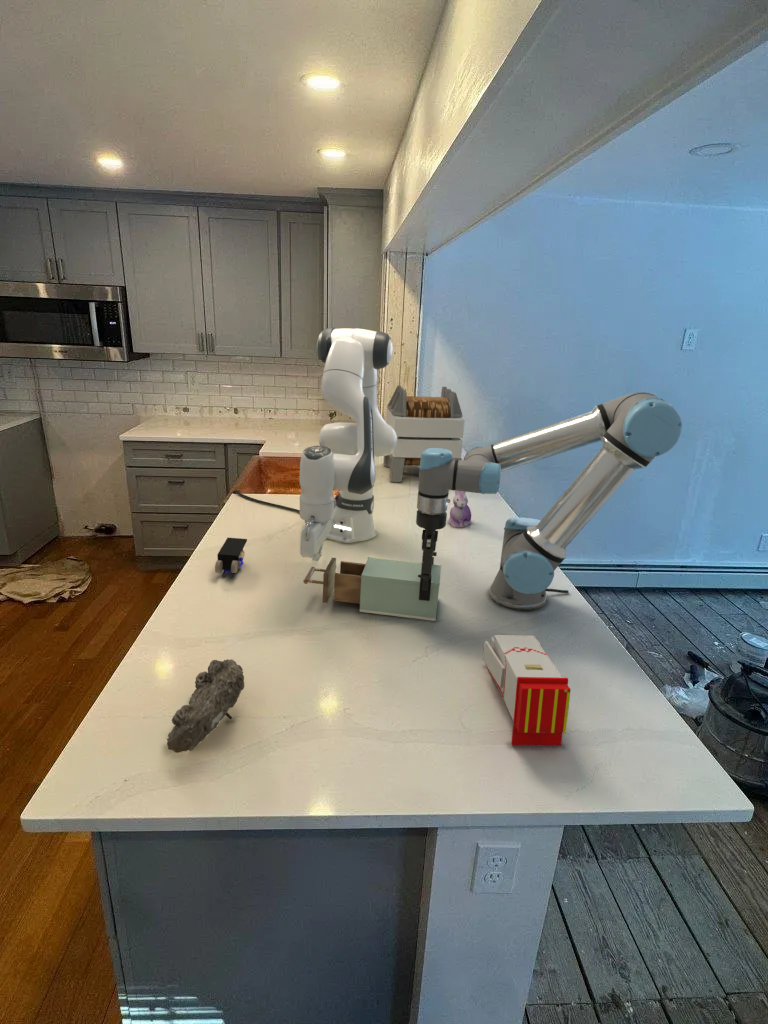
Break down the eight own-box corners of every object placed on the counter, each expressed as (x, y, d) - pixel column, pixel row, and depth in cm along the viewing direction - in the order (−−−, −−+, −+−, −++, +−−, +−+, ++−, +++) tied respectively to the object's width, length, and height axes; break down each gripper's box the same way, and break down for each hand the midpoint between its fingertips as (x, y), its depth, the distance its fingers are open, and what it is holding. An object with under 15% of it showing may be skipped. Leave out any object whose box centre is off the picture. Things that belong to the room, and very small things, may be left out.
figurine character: (238, 584, 162) (249, 557, 175) (236, 562, 158) (247, 536, 172) (215, 584, 161) (227, 556, 175) (212, 561, 158) (225, 535, 171)
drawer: (302, 600, 149) (302, 570, 146) (311, 583, 158) (312, 555, 155) (392, 611, 146) (394, 581, 144) (396, 593, 156) (398, 564, 153)
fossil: (192, 660, 117) (244, 628, 112) (224, 691, 120) (276, 661, 115) (142, 746, 98) (202, 712, 93) (182, 779, 101) (242, 748, 96)
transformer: (382, 463, 289) (386, 382, 275) (445, 464, 293) (451, 384, 279) (390, 482, 257) (394, 392, 243) (460, 483, 261) (468, 394, 247)
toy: (531, 618, 129) (580, 685, 100) (526, 672, 132) (572, 753, 102) (478, 617, 129) (511, 684, 99) (475, 671, 131) (505, 752, 102)
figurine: (457, 529, 205) (460, 490, 200) (441, 520, 214) (444, 482, 209) (478, 526, 210) (482, 487, 205) (462, 517, 218) (465, 480, 213)
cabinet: (359, 611, 147) (361, 575, 143) (366, 591, 158) (368, 557, 154) (435, 621, 145) (439, 584, 141) (437, 600, 156) (441, 565, 152)
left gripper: (319, 526, 135) (318, 577, 140) (337, 498, 154) (336, 545, 159) (293, 523, 136) (294, 575, 141) (314, 496, 155) (314, 542, 160)
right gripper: (445, 528, 130) (438, 612, 137) (448, 497, 152) (441, 571, 159) (412, 525, 131) (407, 609, 138) (420, 494, 153) (415, 568, 160)
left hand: (316, 558), depth 150 cm, fingers closed
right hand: (425, 589), depth 149 cm, fingers closed on cabinet, 11 cm apart
